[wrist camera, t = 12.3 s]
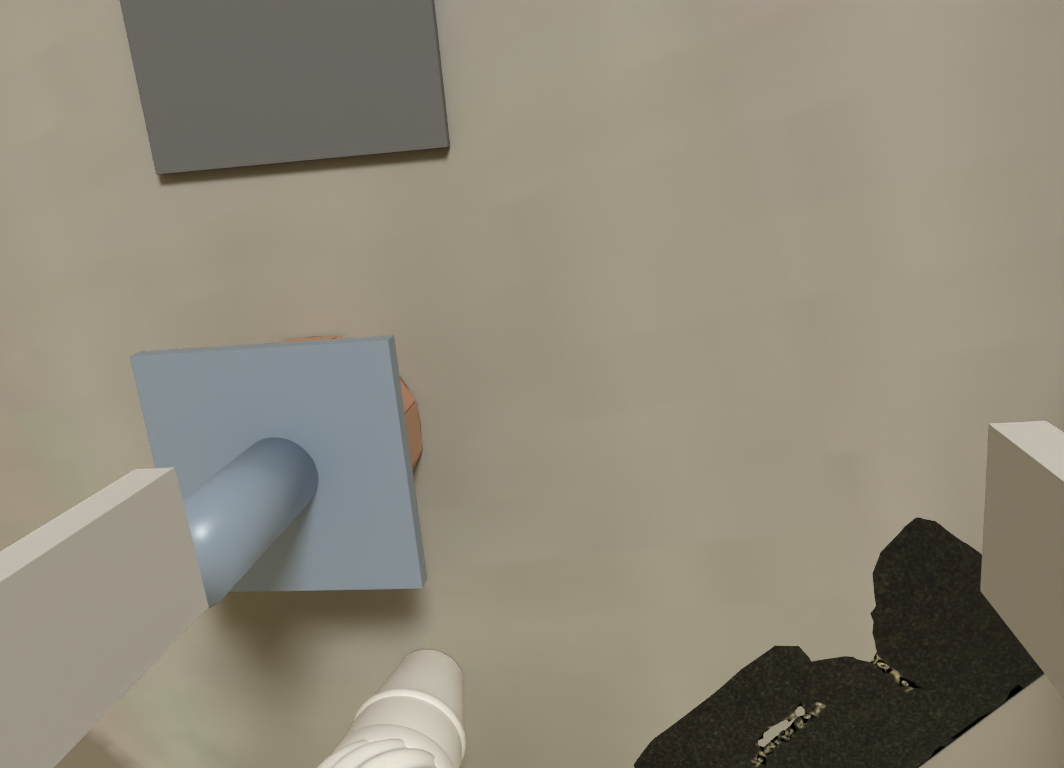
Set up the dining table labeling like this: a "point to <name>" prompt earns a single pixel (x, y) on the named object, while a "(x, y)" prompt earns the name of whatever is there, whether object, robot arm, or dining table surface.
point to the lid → (288, 463)
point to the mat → (285, 79)
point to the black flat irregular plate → (869, 677)
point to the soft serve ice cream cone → (408, 719)
